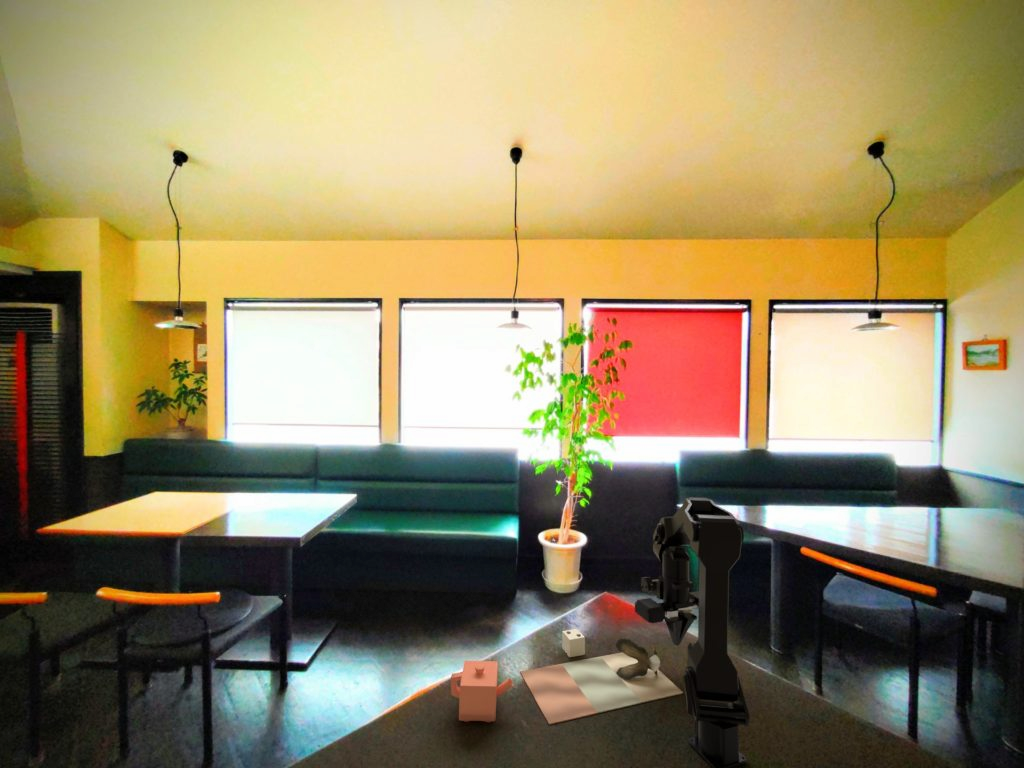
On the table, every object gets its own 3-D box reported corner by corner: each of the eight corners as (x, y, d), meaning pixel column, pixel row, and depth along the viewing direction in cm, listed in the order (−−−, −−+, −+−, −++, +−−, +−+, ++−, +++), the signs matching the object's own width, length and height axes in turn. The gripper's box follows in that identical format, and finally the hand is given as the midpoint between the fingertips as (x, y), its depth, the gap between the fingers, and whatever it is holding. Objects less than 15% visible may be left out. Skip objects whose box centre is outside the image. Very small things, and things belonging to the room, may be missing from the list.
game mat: (683, 693, 85) (683, 692, 85) (549, 724, 76) (549, 723, 76) (636, 650, 100) (636, 649, 100) (520, 672, 91) (520, 671, 91)
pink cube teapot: (512, 727, 75) (513, 680, 76) (447, 726, 75) (448, 678, 76) (512, 698, 83) (513, 655, 83) (453, 696, 83) (454, 654, 84)
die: (584, 654, 98) (584, 636, 98) (569, 657, 97) (569, 639, 97) (577, 645, 102) (577, 628, 102) (562, 648, 101) (562, 630, 101)
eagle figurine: (649, 655, 96) (611, 647, 96) (660, 638, 93) (621, 629, 93) (656, 691, 90) (615, 683, 90) (668, 675, 86) (625, 666, 86)
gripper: (684, 559, 106) (684, 622, 105) (621, 565, 100) (621, 632, 99) (718, 575, 96) (719, 645, 95) (650, 584, 90) (650, 659, 89)
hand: (676, 644), depth 95 cm, fingers closed
